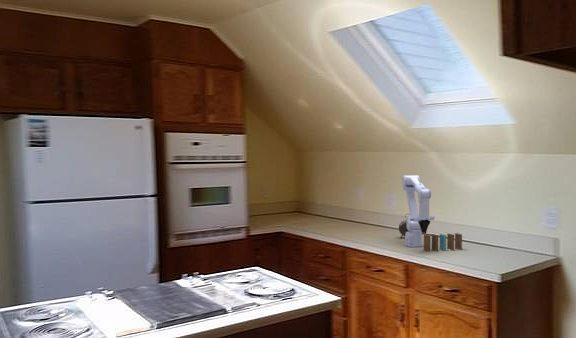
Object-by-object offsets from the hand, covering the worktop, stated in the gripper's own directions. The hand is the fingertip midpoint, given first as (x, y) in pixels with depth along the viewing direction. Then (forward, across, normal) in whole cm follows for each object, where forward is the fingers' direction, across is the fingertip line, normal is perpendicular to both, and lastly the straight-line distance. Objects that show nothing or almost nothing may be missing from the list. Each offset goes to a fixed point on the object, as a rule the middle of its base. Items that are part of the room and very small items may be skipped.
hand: (424, 233), depth 291 cm
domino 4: (+10, +21, -6) cm, 24 cm away
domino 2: (+10, +7, -2) cm, 13 cm away
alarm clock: (+10, +20, +35) cm, 41 cm away
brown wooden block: (+10, +2, 0) cm, 11 cm away
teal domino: (+10, +12, -3) cm, 16 cm away
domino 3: (+10, +16, -5) cm, 20 cm away
